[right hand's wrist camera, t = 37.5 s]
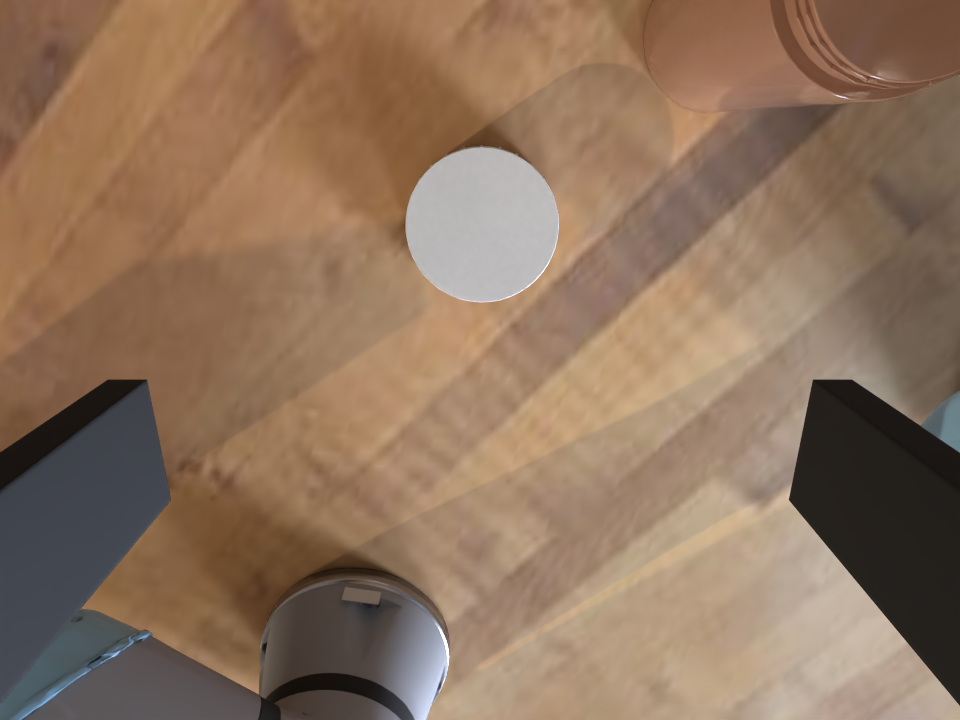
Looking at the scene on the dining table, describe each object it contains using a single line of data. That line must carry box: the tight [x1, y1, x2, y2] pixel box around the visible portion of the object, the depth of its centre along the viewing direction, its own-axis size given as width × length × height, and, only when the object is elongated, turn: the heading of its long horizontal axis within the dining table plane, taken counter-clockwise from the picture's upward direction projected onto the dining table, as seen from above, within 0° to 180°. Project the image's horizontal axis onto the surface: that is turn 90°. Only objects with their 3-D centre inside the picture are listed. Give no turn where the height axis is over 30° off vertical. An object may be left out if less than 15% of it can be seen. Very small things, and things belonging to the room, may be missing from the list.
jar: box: [644, 0, 960, 112], centre depth 28 cm, size 9×9×19 cm
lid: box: [405, 145, 559, 302], centre depth 39 cm, size 10×10×2 cm
